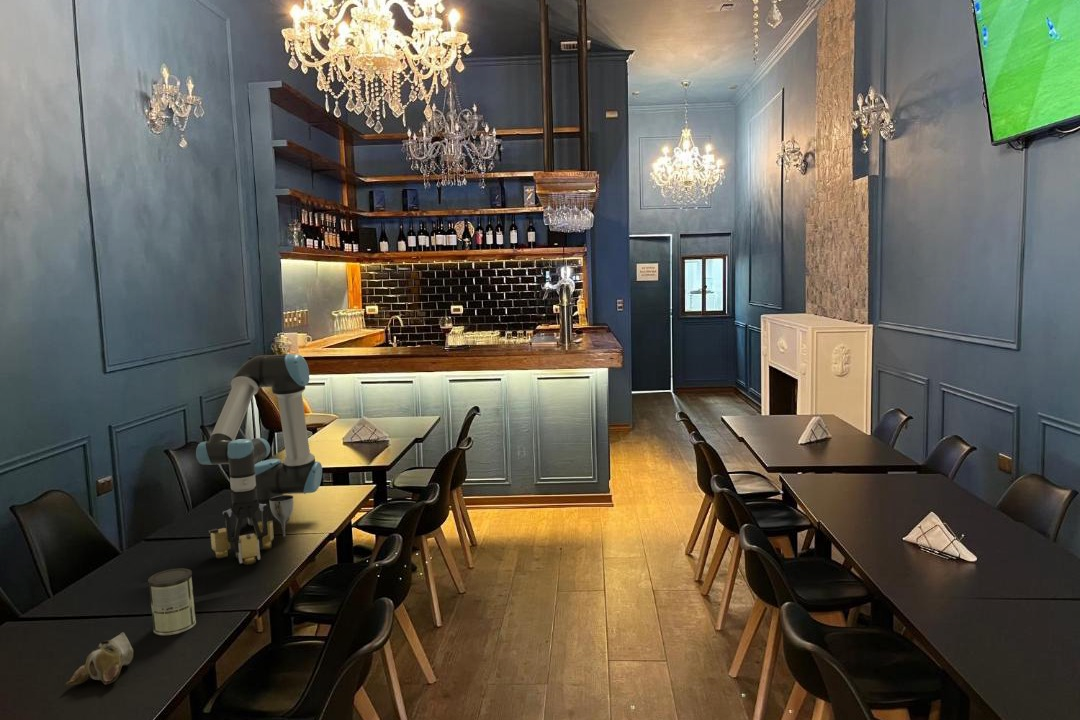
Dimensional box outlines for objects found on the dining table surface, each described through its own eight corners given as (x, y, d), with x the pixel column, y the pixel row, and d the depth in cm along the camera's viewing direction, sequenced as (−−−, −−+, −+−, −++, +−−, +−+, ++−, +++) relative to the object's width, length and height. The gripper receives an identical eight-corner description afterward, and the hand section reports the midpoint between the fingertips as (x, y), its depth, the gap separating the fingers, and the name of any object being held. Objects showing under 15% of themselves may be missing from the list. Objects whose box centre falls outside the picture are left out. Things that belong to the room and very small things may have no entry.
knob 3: (271, 549, 258) (269, 522, 257) (257, 550, 258) (255, 523, 257) (274, 543, 264) (272, 517, 263) (260, 545, 263) (258, 518, 262)
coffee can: (146, 629, 203) (141, 577, 202) (184, 615, 211) (180, 565, 210) (164, 639, 197) (159, 585, 195) (203, 624, 205) (198, 573, 203)
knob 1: (226, 552, 257) (224, 525, 256) (231, 556, 253) (228, 528, 252) (209, 556, 253) (207, 529, 253) (213, 560, 250) (211, 532, 249)
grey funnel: (300, 535, 276) (296, 494, 274) (290, 543, 268) (287, 501, 267) (278, 536, 277) (275, 495, 275) (268, 543, 269) (265, 501, 267)
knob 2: (241, 561, 247) (238, 533, 247) (256, 558, 250) (253, 530, 249) (243, 566, 243) (241, 538, 242) (259, 563, 245) (256, 535, 244)
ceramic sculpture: (143, 625, 185) (104, 659, 170) (148, 658, 186) (110, 695, 171) (101, 626, 185) (58, 660, 171) (106, 659, 187) (64, 696, 172)
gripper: (215, 496, 237) (221, 569, 239) (274, 486, 245) (280, 557, 247) (212, 490, 243) (218, 562, 245) (270, 481, 252) (276, 551, 254)
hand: (249, 559), depth 246 cm, fingers closed on knob 2, 5 cm apart
